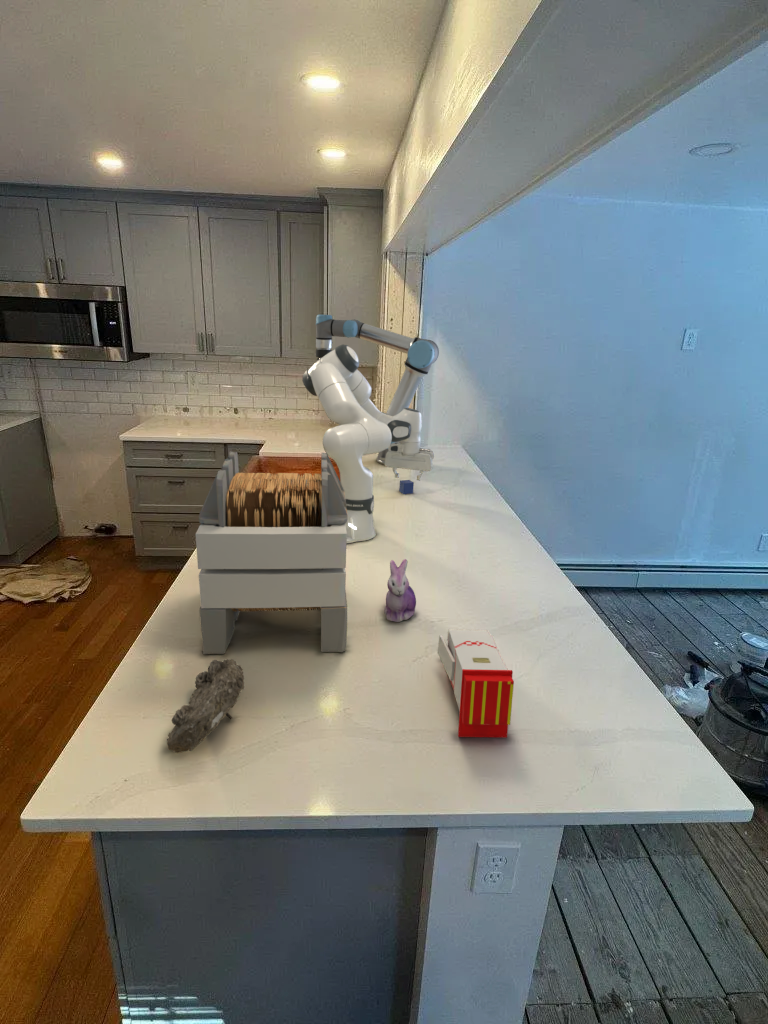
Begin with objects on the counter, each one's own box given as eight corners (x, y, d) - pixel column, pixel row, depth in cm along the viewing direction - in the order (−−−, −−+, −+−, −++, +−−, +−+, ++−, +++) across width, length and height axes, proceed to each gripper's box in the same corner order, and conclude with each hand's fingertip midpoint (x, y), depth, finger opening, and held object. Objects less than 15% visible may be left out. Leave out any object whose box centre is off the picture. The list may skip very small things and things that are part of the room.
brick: (413, 493, 244) (413, 482, 243) (403, 494, 243) (403, 483, 241) (408, 490, 248) (409, 479, 247) (399, 491, 247) (399, 480, 245)
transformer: (223, 585, 158) (215, 442, 144) (341, 584, 161) (344, 444, 148) (200, 656, 126) (186, 481, 112) (347, 652, 130) (351, 482, 116)
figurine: (392, 627, 141) (395, 572, 136) (374, 608, 149) (376, 556, 144) (425, 619, 145) (429, 566, 140) (405, 601, 154) (408, 550, 149)
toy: (488, 613, 130) (523, 677, 101) (484, 667, 133) (517, 744, 104) (435, 612, 130) (455, 676, 101) (432, 666, 133) (451, 743, 103)
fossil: (192, 660, 117) (244, 628, 112) (224, 691, 120) (276, 661, 115) (142, 746, 98) (202, 712, 93) (182, 779, 101) (242, 748, 96)
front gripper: (435, 447, 238) (432, 479, 243) (387, 443, 242) (386, 474, 247) (433, 451, 232) (430, 483, 237) (384, 446, 236) (383, 478, 241)
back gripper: (339, 351, 260) (338, 397, 267) (323, 346, 282) (323, 390, 289) (323, 350, 257) (323, 398, 265) (309, 346, 279) (309, 390, 286)
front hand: (407, 478), depth 242 cm, fingers open, 8 cm apart
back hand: (323, 394), depth 277 cm, fingers open, 13 cm apart
